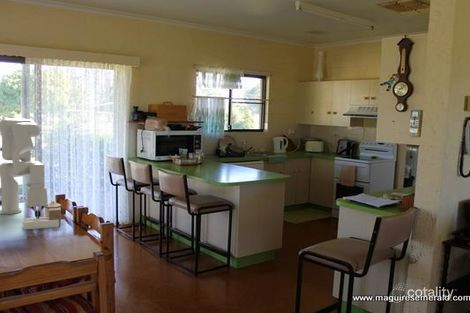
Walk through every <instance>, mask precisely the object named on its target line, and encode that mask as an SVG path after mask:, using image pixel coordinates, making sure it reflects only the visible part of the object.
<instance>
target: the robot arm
mask: <svg viewBox="0 0 470 313" xmlns="http://www.w3.org/2000/svg"><path fill="white" fill-rule="evenodd" d="M0 135H1V157H2V159H3V160H5V161H8V162H2V163H1V164H0V188H1V189H0V194H1V196H0V197H1V209H0V215H14V214H19V213H21V212H22V211H23V210H22V208H20V204H19V203H20V202H19V200H20V199H19V197H20V195H19V183H18V181H17V180H16V179H15V178H17V177H27V176H29V183H26V187H28V188H27V197H26V198H27V199H26V203H27V205H26V208H27V209H31V210H32V211H33V212H34V218H36V219H37V218H40V217H41V216H42V215H41V214H42V212H41V211H42V210H43V209H45V207H48V204H49V202H48V199H49V198H48V191H47V187H45V185H46V184H45V177H46V176H45V164H44V163H42V162H40V161H38V160H36V161H35V160H34V161H31V159H32V157H31V156H32V155H31V150H32V149H33V148H34V143H33V140H32V138H37V137H38V136H40V127H39V125H38V124H37V123H36V122H35V121H33V120H32V119H30V118H29V119H28V118H4V119H1V120H0ZM37 207H38V208H37Z"/></svg>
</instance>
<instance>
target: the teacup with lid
mask: <svg viewBox="0 0 470 313" xmlns="http://www.w3.org/2000/svg"><path fill="white" fill-rule="evenodd" d="M50 208H60V209H61V210H62V205H61V204H60V203H58V202H55V200H51V201H50V202H48V207H45V208H44V217H49V209H50Z"/></svg>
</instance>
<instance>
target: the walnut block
mask: <svg viewBox="0 0 470 313" xmlns="http://www.w3.org/2000/svg"><path fill="white" fill-rule="evenodd" d="M57 219H59V225H60V224H62V222H61V221H62V208H61V209H60V208H50V209H49V220H57Z"/></svg>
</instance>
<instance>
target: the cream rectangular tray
mask: <svg viewBox="0 0 470 313" xmlns="http://www.w3.org/2000/svg"><path fill="white" fill-rule="evenodd" d="M59 226H60V224H59V219H57V220H49V217H45V216H44V217H43V216H42V217H39V218H37V219H36V217H29V218H27V217H26V218H23V220H22V230H33V229H34V230H35V228H37V229H47V228H48V229H50V228H59ZM49 227H50V228H49Z"/></svg>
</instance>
